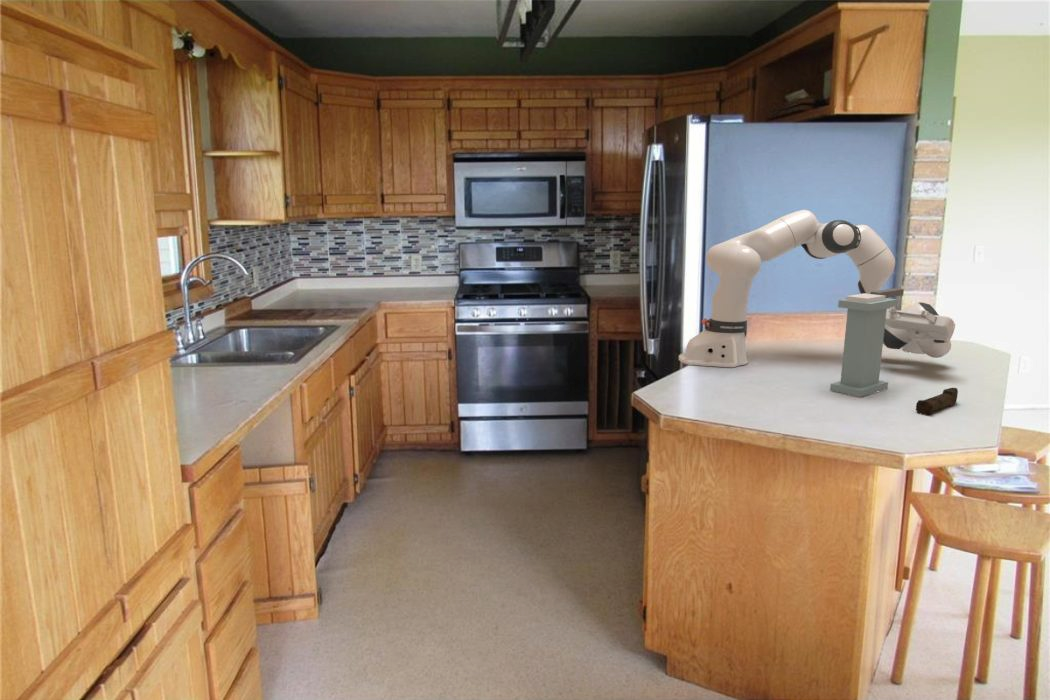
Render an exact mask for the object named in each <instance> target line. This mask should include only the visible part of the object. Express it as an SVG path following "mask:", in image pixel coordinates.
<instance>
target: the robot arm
mask: <svg viewBox="0 0 1050 700" xmlns="http://www.w3.org/2000/svg"><path fill="white" fill-rule="evenodd" d="M800 246H801V247H802V248H803V250H804V251H805V253H806V254H807V255H808V256H809V257H811V258H814V259H817V260H818V259H819V260H823V259H826V258H832V257H836V256H838V255H840V254H845V255H846V256H848V257H849V258H850V259H851V261H852V263H853V264H854V266H855V267H856V268H857V270H858V272H859V280H858V282H857V288H858V291H859V294H864V293H866V294H871V292H873V291H880V290H881V288H882V287H883V286H884V284H885V283H886V282H887V281H888V280H889V278H890V277H891V276H892V274H893V272H894V269H895V267H896V257H895V256H894V254H893V252H892V251H891V249H890V248H889V247H888V245H887V244H886V242H885V241H884V240H883V239H882V237H880V235H879V234H878V233H876V231H875V230H874V229H872V227H870V226H869V225H866V224H858V225H854V224H852V223H851V222H850V221H847V220H844V219H835V220H832V221H829V222H826V223H822V222H820V221H818V219H817V216H816V215H815V214H814V213H813V212H812V211H810V210H807V209H801V210H797V211H793V212H790V213H788V214H785V215H783V216H781V217H779V218H776V219H775V220H773V221H770V222H768V223H767V224H765V225H763V226H761V227H759V228H757V229H755V230H752V231H749V232H747V233H744V234H740V235H738V236H735V237H732V238H730V239H728V240H725V241H723V242H721V243H717V244H714V245H713V246H712V247H710V248H709V250H708V251H707V253H706V257H705V261H706V264H707V266H708V268H709V269H710V270H711V271H712V272H713V273H715V274H716V275H718V276H719V281H718V284H717V288H716V290H715V291H714V293H713V295H712V301H711V303H712V304H711V318H709V319H707V318H706V317H705V318H703V319H701V323H702V324H703V325H704V329H703V331H701V332H699V333H698V334H697V335H694V337H692V338H690V339H689V341H688V342H687V344H686V348H685V352H682V353H680V354H679V355H678V361H680V362H681V363H682V364H685V365H687V366H689V365H690V366H701V367H702V366H703V367H704V366H705V367H720V368H736V367H738V366H743V365H747V364H748V363H749V360H748V356H747V355H748V354H747V347H746V344H747V343H746V338H747V334H748V320H747V308H748V300H749V294H750V290H751V287H752V284H753V281H754V278H755V276H756V275H757V274H758V273H759V271H760V270H761V265H762V263H764V262H769V261H772V260H774V259H776V258H779V257H780V256H782V255H784V254H786V253H788V252H790V251H792V250H793V249H796V248H797V247H800ZM955 328H956V324H955V321H954V320H953V319H952V318H951V317H950V316H945V315H940V314H939V313H938V312H937V310H936V309H935V308H934V307H933V306H932V305H931V304H929V303H927V302H926V303H925V302H917V303H914V304H913V305H911V306H909V307H907V308H906V309H905V310H898V308H897V307H891V308H887V311H886V320H885V329H884V338H883V346H885V347H886V348H887V349H892V350H900V349H902V347H903V346H905V345H906V344H908V343H909V342H910V341H912V340H913V341H914V342H915V343H916V344H917V345H918V347H919V348H920V349H921V350H922V351H923V352H924V353H925V354H924V355H927V356H928V357H930V358H933V359H935V358H937V359H938V358H942V357H944V356H946V355H948V354H949V352H950V351H951V350H952V349H951V348H952V343H951V339H952V337H953V335H954V332H955Z"/></svg>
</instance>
